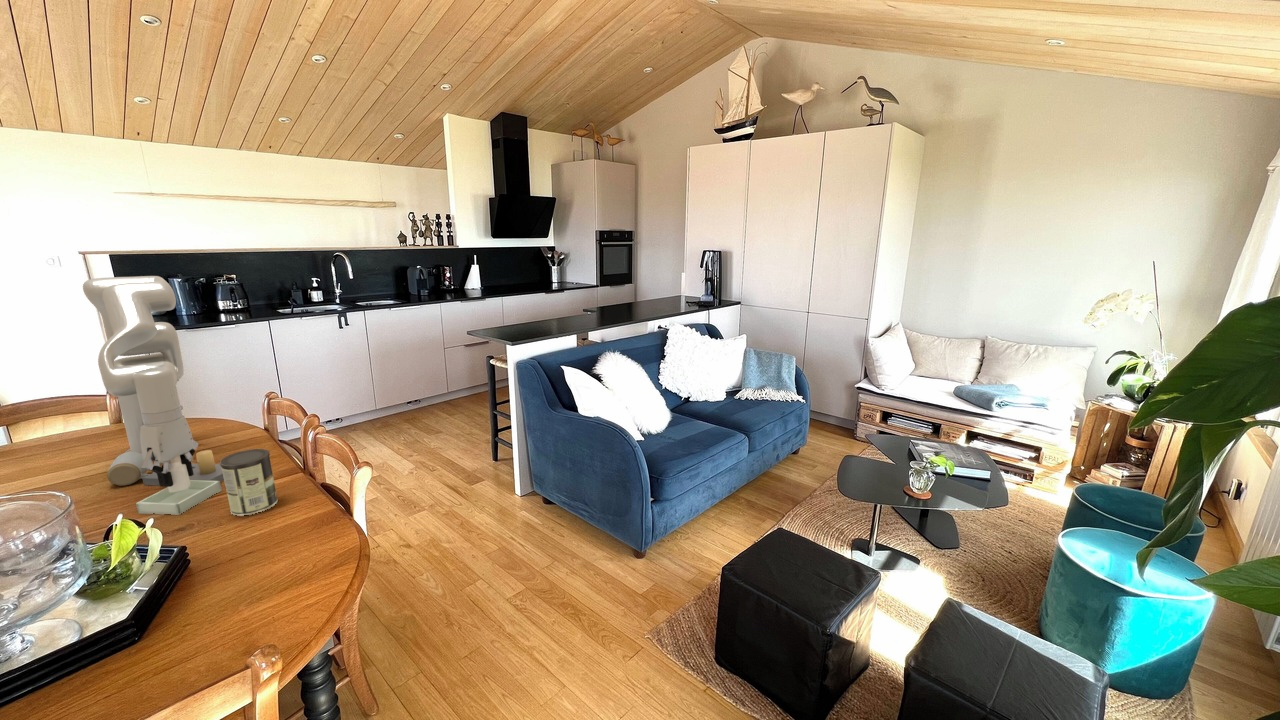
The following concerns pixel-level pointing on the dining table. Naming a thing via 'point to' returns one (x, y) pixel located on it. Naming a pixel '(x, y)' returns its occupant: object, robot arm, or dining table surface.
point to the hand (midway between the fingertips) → (177, 480)
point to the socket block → (196, 470)
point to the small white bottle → (178, 475)
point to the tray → (178, 498)
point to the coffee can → (249, 481)
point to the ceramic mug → (126, 469)
